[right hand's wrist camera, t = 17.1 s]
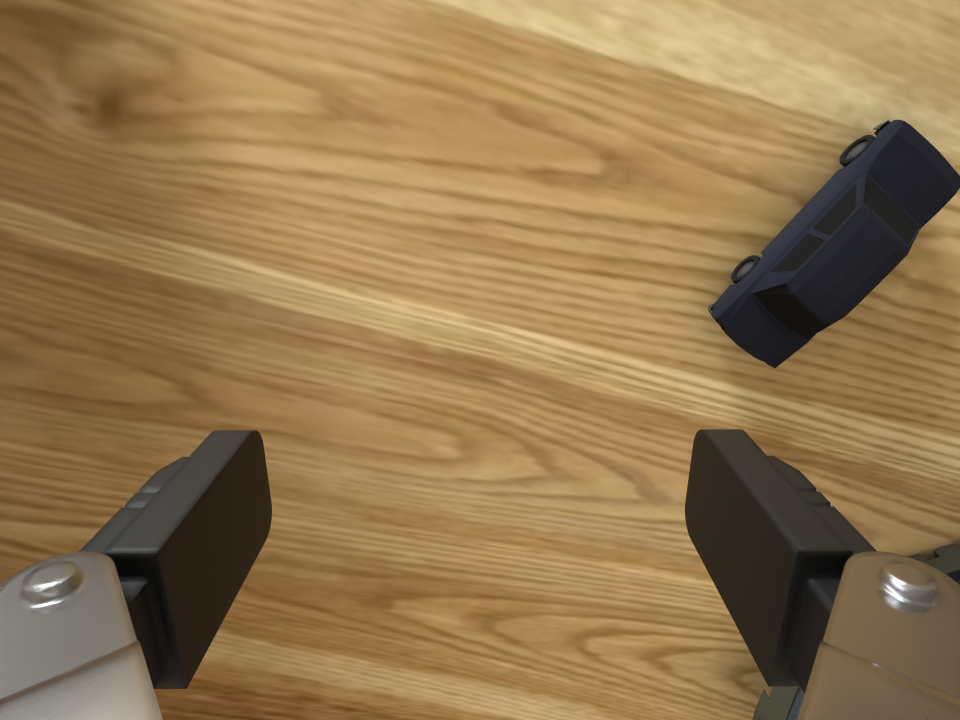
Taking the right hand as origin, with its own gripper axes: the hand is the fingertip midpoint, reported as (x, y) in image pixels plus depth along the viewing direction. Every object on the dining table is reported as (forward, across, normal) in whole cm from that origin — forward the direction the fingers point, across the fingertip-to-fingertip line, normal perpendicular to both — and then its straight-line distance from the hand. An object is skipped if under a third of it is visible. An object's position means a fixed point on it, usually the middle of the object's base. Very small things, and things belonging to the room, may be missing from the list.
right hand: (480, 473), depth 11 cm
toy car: (+28, +20, 0) cm, 35 cm away
